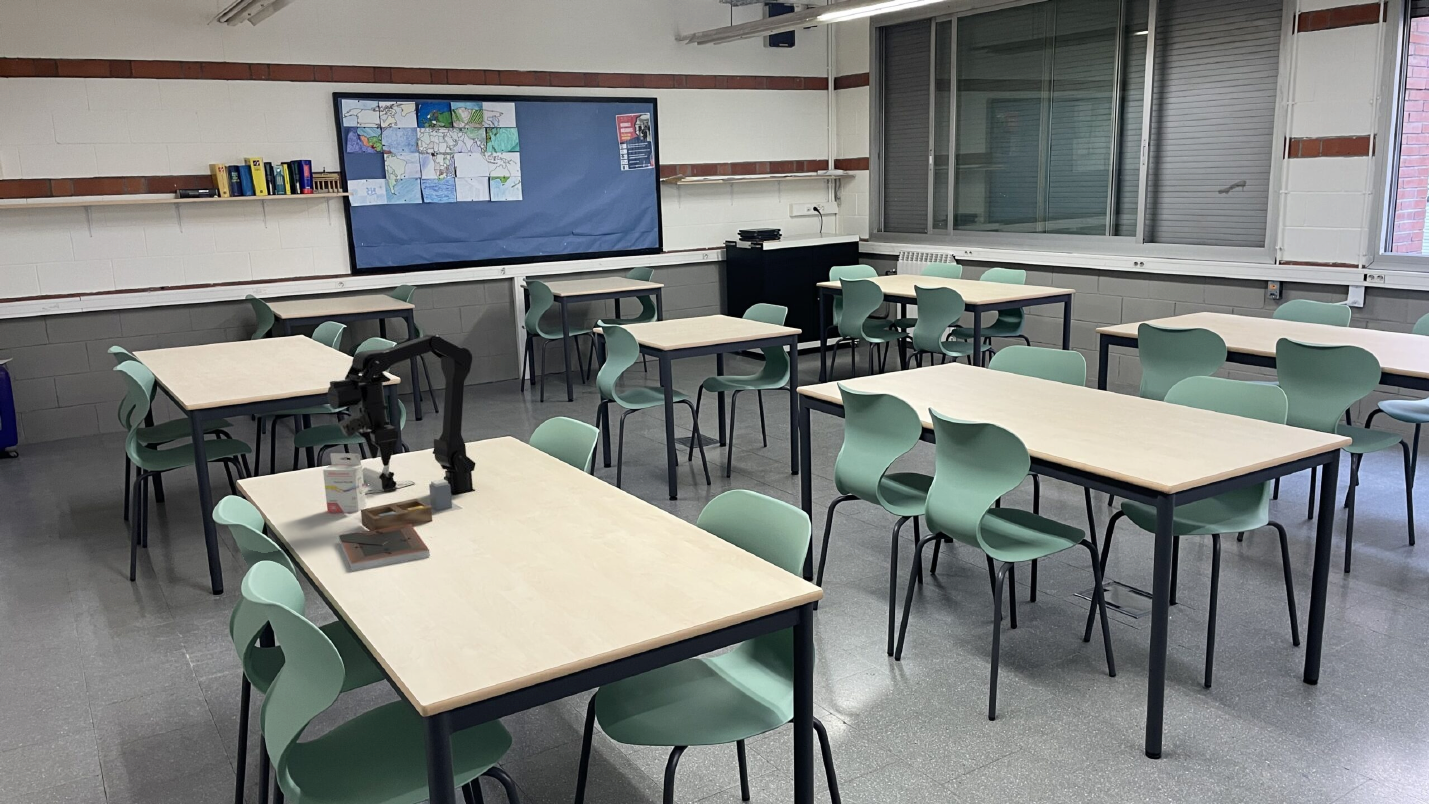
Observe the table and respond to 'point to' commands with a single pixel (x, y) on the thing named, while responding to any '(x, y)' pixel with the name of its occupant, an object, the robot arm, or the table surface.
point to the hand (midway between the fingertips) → (379, 461)
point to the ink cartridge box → (344, 484)
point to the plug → (440, 495)
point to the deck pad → (454, 507)
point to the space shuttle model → (381, 480)
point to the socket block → (396, 514)
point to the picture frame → (382, 546)
